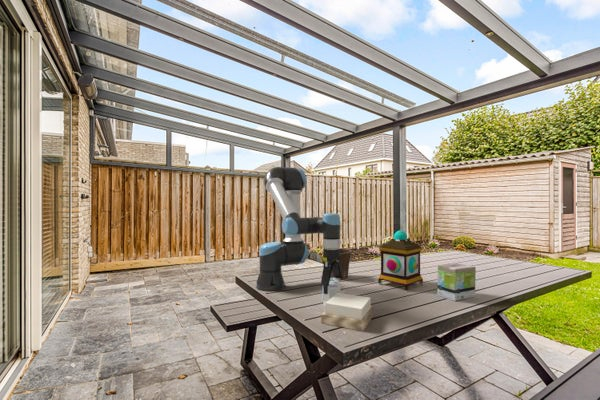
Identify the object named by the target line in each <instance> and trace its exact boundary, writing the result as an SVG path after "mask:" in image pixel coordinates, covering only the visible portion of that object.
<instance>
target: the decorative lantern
mask: <svg viewBox="0 0 600 400" xmlns="http://www.w3.org/2000/svg"><path fill="white" fill-rule="evenodd" d="M378 249H379V250H380V274H379V276H378V278H377V279H378V280H377V281H378V282H377V283H378V285H382V282H383V281H385V282H389V283H392V284H393V283H394V284H397V285H402V286H404V290H405V291H406V292H407V291H408V290H409V286H411V285H413V284H415V283H418V282H419V285H420V286H423V284H424V279H423V276H422V274H421V252H422V250H423V247H422V246H421V245H420V244H418V243H415V242H413V241H412V240H411V239H410V238H408V235H407V233H405V231H403V230H398V231H396V232H395V233H394V234H393V238H391V240H388V242H385V243H382V244H381V245H380V246H379V247H378Z"/></svg>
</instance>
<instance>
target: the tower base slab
mask: <svg viewBox="0 0 600 400" xmlns="http://www.w3.org/2000/svg"><path fill="white" fill-rule="evenodd" d="M320 316H321V324H325V325H328V326H329V325H330V326H334V327H340V328H343V329H345V328H346V329H350V330H354V331H355V330H356V331H361V332H364V331H365V329H366V327H367V326H368V324H369V323H370V321H371V320H372V318H373V317H374V307H373V306H371V308H370V309H369V311H368V312H367V313H366V315H365V316H364V318H363V319H362V320H358V319H352V318H346V317H341V316H335V315H330V314H325V310H324V311H323V312H322V313H321V315H320Z"/></svg>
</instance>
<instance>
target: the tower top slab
mask: <svg viewBox="0 0 600 400" xmlns="http://www.w3.org/2000/svg"><path fill="white" fill-rule="evenodd" d="M371 300H372V298H371V297H368V296H361V295H354V294H348V293H342V292H341V293H337V294H336V295H334V296H333V297H332V298H331V299H329V300H328V301H327V302H326V303H325V306H324V311H325V314H330V315H335V316H341V317H346V318H352V319H358V320H362V319H363V318H364V316H365V315H366V313H367V312H368V311H369V309H370V308H371V307H372V306H371V305H372V303H371V302H372V301H371Z"/></svg>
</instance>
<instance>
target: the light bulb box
mask: <svg viewBox="0 0 600 400" xmlns="http://www.w3.org/2000/svg"><path fill="white" fill-rule="evenodd" d="M341 284H342V283H341V281H340V282H339V281H338V280H337V278H330V282H329V286H330V299H331V298H332V297H333V296H334V295H336V294H337V293H342V292H341V291H342V289H341V286H342V285H341ZM321 287H322V288H321V289H322V290H321V291H322V292H321V298H322V300H321V302H322V304H323V306H324V307H325V303H326V302H327V301H323V286H321Z"/></svg>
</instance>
